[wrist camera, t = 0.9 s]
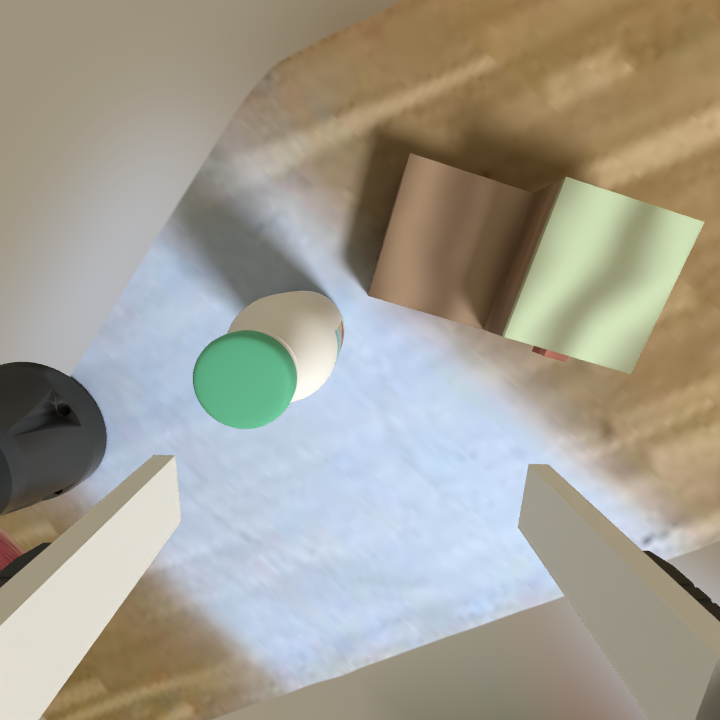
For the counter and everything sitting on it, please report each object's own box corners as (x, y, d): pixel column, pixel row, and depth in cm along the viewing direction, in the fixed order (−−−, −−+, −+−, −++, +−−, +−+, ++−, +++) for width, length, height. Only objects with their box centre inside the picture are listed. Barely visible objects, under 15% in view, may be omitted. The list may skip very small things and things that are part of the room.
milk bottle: (255, 318, 34) (117, 363, 15) (316, 275, 33) (254, 260, 14) (300, 378, 36) (228, 490, 16) (359, 337, 35) (360, 405, 15)
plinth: (366, 300, 34) (368, 305, 26) (405, 162, 31) (422, 118, 23) (564, 358, 35) (627, 381, 27) (620, 231, 32) (708, 213, 24)
